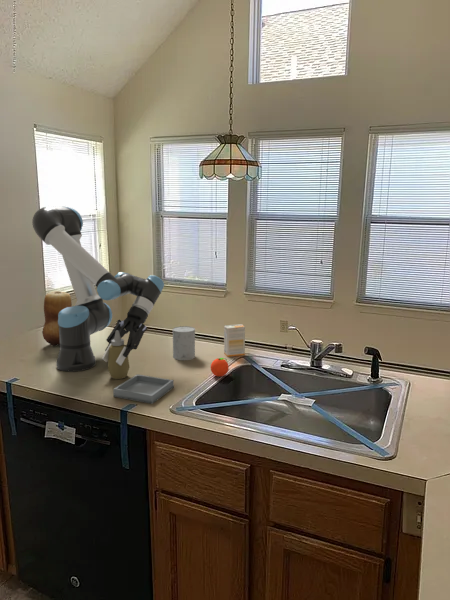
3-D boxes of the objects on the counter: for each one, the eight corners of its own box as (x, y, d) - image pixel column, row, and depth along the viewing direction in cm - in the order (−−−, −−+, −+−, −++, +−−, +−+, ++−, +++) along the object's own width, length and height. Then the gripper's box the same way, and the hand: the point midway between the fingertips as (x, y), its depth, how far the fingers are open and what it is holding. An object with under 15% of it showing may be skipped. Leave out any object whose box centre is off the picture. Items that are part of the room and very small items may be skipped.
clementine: (220, 370, 181) (220, 353, 180) (234, 374, 177) (234, 357, 176) (206, 376, 175) (206, 358, 174) (220, 380, 171) (220, 362, 170)
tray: (113, 396, 156) (113, 388, 155) (137, 381, 170) (137, 374, 169) (152, 403, 150) (152, 395, 150) (173, 387, 164) (173, 380, 164)
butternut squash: (68, 349, 207) (64, 294, 202) (38, 348, 207) (34, 294, 202) (78, 340, 220) (75, 289, 215) (50, 340, 220) (47, 288, 215)
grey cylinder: (168, 358, 196) (168, 330, 193) (179, 352, 204) (179, 325, 202) (189, 361, 192) (188, 333, 190) (198, 354, 201) (198, 327, 198)
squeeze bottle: (110, 382, 169) (109, 334, 165) (105, 374, 176) (103, 329, 172) (132, 378, 172) (131, 332, 169) (126, 371, 179) (125, 327, 176)
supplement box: (241, 352, 205) (241, 323, 202) (244, 355, 200) (245, 326, 198) (223, 353, 202) (223, 325, 200) (227, 357, 198) (227, 327, 195)
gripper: (163, 319, 178) (136, 371, 168) (126, 312, 188) (98, 362, 177) (154, 308, 172) (125, 361, 162) (116, 302, 182) (87, 352, 172)
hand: (111, 361), depth 170 cm, fingers closed on squeeze bottle, 6 cm apart
